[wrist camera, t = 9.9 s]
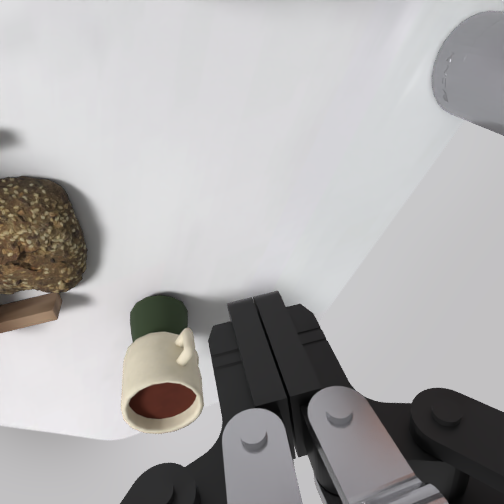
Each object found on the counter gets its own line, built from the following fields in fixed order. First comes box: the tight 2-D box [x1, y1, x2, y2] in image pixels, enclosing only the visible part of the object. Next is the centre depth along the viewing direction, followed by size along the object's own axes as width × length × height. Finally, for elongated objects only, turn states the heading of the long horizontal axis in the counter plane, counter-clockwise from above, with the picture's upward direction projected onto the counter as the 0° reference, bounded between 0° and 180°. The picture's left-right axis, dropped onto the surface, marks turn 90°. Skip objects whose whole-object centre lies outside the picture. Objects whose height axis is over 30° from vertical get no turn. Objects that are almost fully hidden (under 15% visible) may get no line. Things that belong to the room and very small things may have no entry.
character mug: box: [121, 295, 204, 434], centre depth 42 cm, size 11×7×13 cm, turn 146°
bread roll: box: [0, 176, 87, 294], centre depth 38 cm, size 13×12×5 cm
